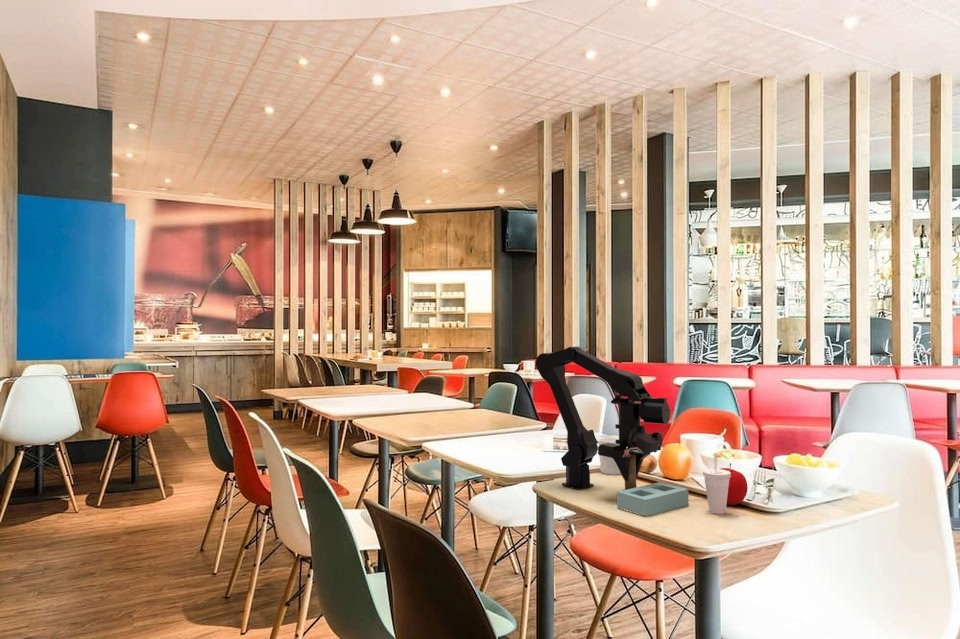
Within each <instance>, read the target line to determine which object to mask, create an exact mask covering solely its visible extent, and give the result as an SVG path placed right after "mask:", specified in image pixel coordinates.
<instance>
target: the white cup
mask: <svg viewBox="0 0 960 639" xmlns="http://www.w3.org/2000/svg"><path fill="white" fill-rule="evenodd" d="M617 439H619V437H601V438H598V442H599V443H598V447H599V446H600V444H606V443H612V444H616V440H617ZM617 445H619V444H617ZM598 456H599V464H600V466H599V468H600V472H601V473H602V474H605V475H612V476H613V475H622V474H621V472H620V470H619V468H618V466H617V464H616V463H615V461H614V459H613V458H610V457H606V456H601V455H598Z"/></svg>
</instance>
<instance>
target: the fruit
mask: <svg viewBox="0 0 960 639" xmlns="http://www.w3.org/2000/svg"><path fill="white" fill-rule="evenodd" d="M731 466H732V463H731V462H729V468H728V467H720V468H719V469H722V470H726V471H729V472H730V473H731V477H730V478H729V487H728V495H727V504H726V506H736V505H739V504H740V503H741V502H743V501H744V500H745V498H746V496H747V493H748V482H747V481H748V480H747V479H746V477H745V475H744V474H743V473H742V472H741V471H737V470H735V469H732V468H731Z"/></svg>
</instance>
